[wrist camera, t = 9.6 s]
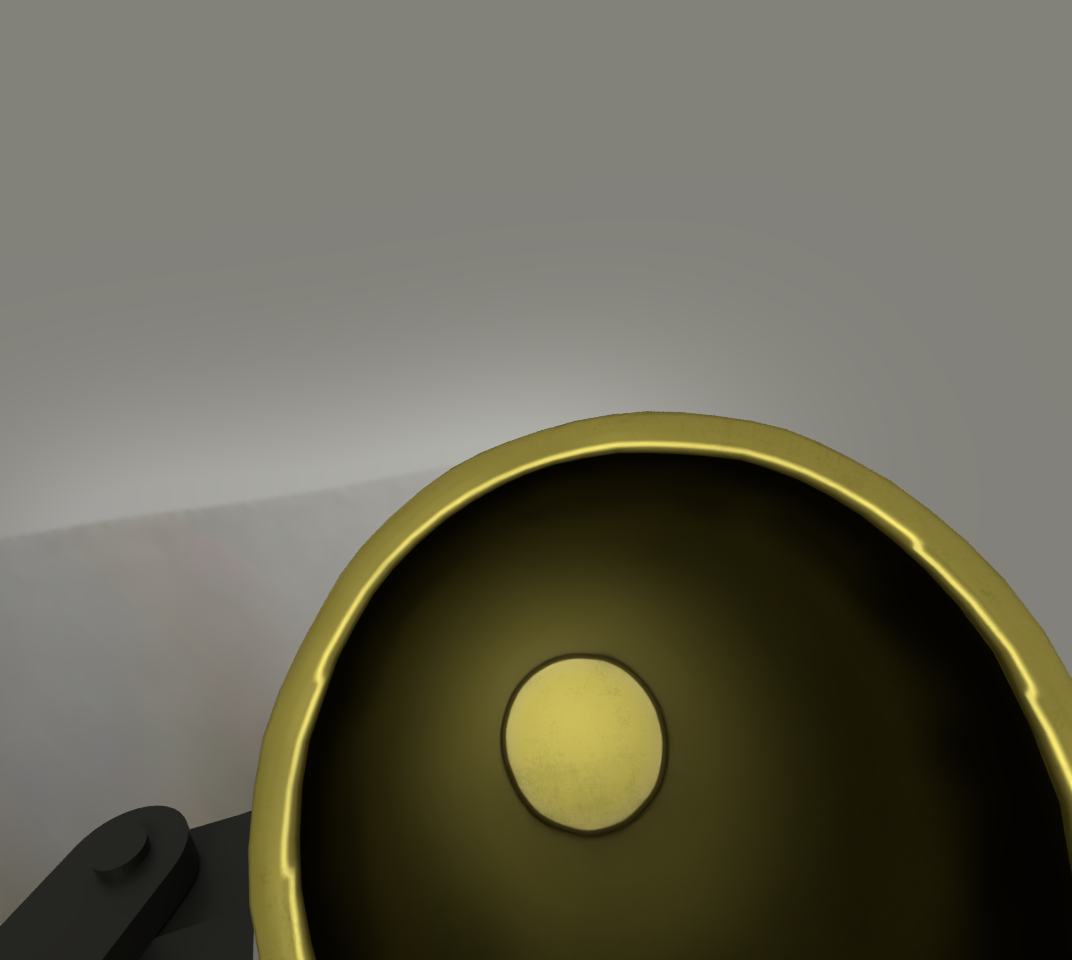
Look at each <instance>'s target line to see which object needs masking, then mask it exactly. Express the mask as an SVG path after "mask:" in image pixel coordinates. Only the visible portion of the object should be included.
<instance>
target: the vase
mask: <svg viewBox="0 0 1072 960" xmlns="http://www.w3.org/2000/svg"><path fill="white" fill-rule="evenodd" d="M248 862H249V906H250V912H251V917H252V923H253V928H254V934H255V939H256V945H257V950H258V956H259V960H1072V678H1071V677H1070V675H1069V674H1068V671H1067V670H1066V668H1065V666H1064V664H1063V663H1062V661H1061V660H1060V657H1059V656H1058V654H1057V652H1056V651H1055V649H1054V647H1053V645H1052V644H1051V642H1050V640H1049V638H1048V636H1047V635H1046V633H1045V631H1044V630H1043V629H1042V627H1041V626H1040V625H1039V623H1038V622H1037V621H1036V620H1035V618H1034V617H1033V616H1032V614H1031V613H1030V612H1029V610H1028V609H1027V608H1026V606H1025V605H1024V604H1023V603H1022V601H1021V600H1020V599H1019V598H1018V596H1017V595H1016V593H1015V592H1014V591H1013V590H1012V588H1011V587H1010V586H1009V584H1008V583H1007V582H1006V581H1005V579H1004V578H1003V577H1002V576H1001V575H1000V574H999V573H998V572H997V571H996V570H995V569H994V568H993V567H992V566H991V565H990V564H989V563H988V562H987V561H986V560H985V559H984V558H983V557H982V556H981V555H980V554H979V553H978V552H977V551H976V550H975V549H974V548H973V547H972V546H971V545H970V544H969V543H968V542H967V541H966V540H965V539H964V538H963V537H961V536H960V535H959V534H958V533H957V532H956V531H954V530H953V529H952V528H951V527H950V526H948V525H947V524H946V523H945V522H944V521H942V520H941V519H940V518H939V517H938V516H937V515H935V514H934V513H933V512H932V511H931V510H930V509H928V508H927V507H925V506H924V505H923V504H921V503H920V502H919V501H917V500H916V499H915V498H913V497H912V496H911V495H909V494H908V493H906V492H905V491H904V490H902V489H901V488H900V487H898V486H897V485H896V484H894V483H893V482H892V481H890V480H888V479H886V478H885V477H883V476H881V475H879V474H878V473H876V472H874V471H872V470H870V469H869V468H867V467H865V466H863V465H862V464H860V463H858V462H856V461H855V460H853V459H851V458H849V457H847V456H845V455H843V454H841V453H839V452H837V451H835V450H833V449H831V448H829V447H827V446H825V445H823V444H821V443H819V442H817V441H814V440H812V439H809V438H807V437H804V436H802V435H799V434H797V433H794V432H792V431H789V430H787V429H783V428H779V427H775V426H770V425H766V424H762V423H758V422H754V421H748V420H741V419H734V418H728V417H721V416H713V415H703V414H693V413H683V412H652V411H650V412H649V411H645V412H635V413H625V414H612V415H606V416H601V417H595V418H589V419H584V420H578V421H574V422H570V423H566V424H563V425H560V426H556V427H553V428H548V429H545V430H541V431H538V432H536V433H532V434H530V435H527V436H524V437H521V438H518V439H515V440H512V441H509V442H506V443H504V444H501V445H499V446H496V447H494V448H491V449H489V450H487V451H484V452H482V453H479V454H478V455H476V456H474V457H472V458H470V459H468V460H466V461H464V462H463V463H461V464H459V465H457V466H455V467H453V468H451V469H450V470H449V471H447V472H446V473H444V474H443V475H442V476H440V477H439V478H437V479H436V480H435V481H433V482H432V483H430V484H429V485H428V486H426V487H425V488H424V489H422V490H421V491H420V492H419V493H417V494H416V495H415V496H414V497H413V498H412V499H411V500H409V501H408V502H407V503H406V504H405V505H404V506H402V507H401V508H400V509H399V510H398V511H397V512H396V513H394V514H393V515H392V516H391V517H390V518H389V519H388V520H387V521H386V522H385V523H384V524H383V525H382V526H381V527H380V528H379V529H378V530H377V531H376V532H375V533H374V534H373V535H372V536H371V537H370V538H369V539H368V540H367V542H366V543H365V544H364V545H363V546H362V547H361V548H360V549H359V551H358V552H357V553H356V555H355V556H354V557H353V559H352V560H351V561H350V563H349V564H348V565H347V567H346V568H345V569H344V571H343V572H342V573H341V574H340V576H339V578H338V580H337V581H336V583H335V585H334V586H333V588H332V590H331V592H330V593H329V595H328V597H327V599H326V600H325V602H324V604H323V606H322V607H321V609H320V611H319V613H318V615H317V616H316V618H315V620H314V622H313V624H312V626H311V627H310V629H309V631H308V633H307V635H306V637H305V638H304V640H303V642H302V644H301V646H300V648H299V650H298V652H297V654H296V656H295V658H294V661H293V663H292V665H291V667H290V669H289V671H288V673H287V675H286V678H285V680H284V682H283V684H282V686H281V688H280V690H279V693H278V696H277V699H276V702H275V704H274V707H273V710H272V713H271V716H270V719H269V721H268V724H267V727H266V730H265V733H264V736H263V740H262V745H261V751H260V757H259V763H258V768H257V774H256V780H255V785H254V793H253V803H252V814H251V825H250V835H249V846H248Z"/></svg>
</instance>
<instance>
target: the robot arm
mask: <svg viewBox="0 0 1072 960" xmlns="http://www.w3.org/2000/svg"><path fill="white" fill-rule="evenodd" d="M251 814H252V811H249V812H246V813H244V814H241V815H237V816H234V817H231V818H227V819H224V820H220V821H217V822H214V823H210V824H207V825H203V826H200V827H196V828H193V829H189V827H188V824H187V822H186V819H185V817H184V816H183V815H182V814H181V813H180V812H179V811H177V810H175V809H173V808H170V807H167V806H148V807H143V808H138V809H135V810H132V811H129V812H126V813H124V814H121V815H119V816H117V817H115V818H113V819H111V820H109V821H108V822H106V823H104V824H103V825H101V826H100V827H98V828H97V829H95V830H94V831H93V832H91V833H90V834H89V835H88V836H86V837H85V838H84V839H83V840H82V841H81V842H80V843H79V844H78V845H77V846H76V847H75V848H74V849H73V850H72V851H71V852H70V853H69V854H68V855H67V856H66V857H65V858H64V859H63V861H62V862H61V863H60V864H59V865H58V866H57V867H56V868H55V869H54V870H53V871H52V872H51V873H50V874H49V875H48V876H47V877H46V878H45V880H44V881H43V882H42V883H41V884H40V885H39V886H38V887H37V888H36V889H35V890H34V891H33V892H32V893H31V894H30V895H29V896H28V897H27V899H26V900H25V901H24V902H23V903H22V904H21V905H20V906H19V907H18V908H17V909H16V910H15V911H14V912H13V913H12V914H11V915H10V916H9V918H8V919H7V920H6V921H5V922H4V923H3V924H2V925H1V926H0V960H259V956H258V950H257V945H256V939H255V934H254V928H253V923H252V917H251V912H250V906H249V862H248V846H249V835H250V825H251Z"/></svg>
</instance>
